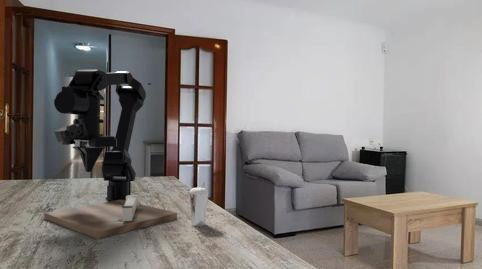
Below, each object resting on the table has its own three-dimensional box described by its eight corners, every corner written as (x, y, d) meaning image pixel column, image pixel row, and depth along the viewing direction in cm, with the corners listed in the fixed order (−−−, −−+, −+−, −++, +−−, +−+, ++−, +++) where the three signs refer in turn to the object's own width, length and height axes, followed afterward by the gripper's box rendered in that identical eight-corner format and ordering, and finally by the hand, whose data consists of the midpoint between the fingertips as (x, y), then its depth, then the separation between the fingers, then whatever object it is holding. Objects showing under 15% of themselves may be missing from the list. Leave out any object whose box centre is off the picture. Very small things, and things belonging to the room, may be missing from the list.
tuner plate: (121, 204, 105) (121, 199, 105) (177, 218, 89) (177, 212, 89) (44, 218, 87) (44, 212, 87) (97, 239, 72) (97, 231, 72)
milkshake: (212, 222, 86) (212, 182, 86) (202, 228, 81) (203, 185, 81) (195, 220, 88) (196, 181, 88) (185, 226, 83) (186, 184, 83)
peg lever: (126, 205, 94) (126, 194, 94) (140, 205, 95) (140, 194, 95) (118, 221, 79) (118, 207, 79) (135, 220, 79) (135, 206, 79)
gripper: (42, 114, 94) (42, 171, 94) (77, 113, 83) (76, 178, 83) (82, 116, 103) (81, 168, 103) (118, 115, 92) (117, 174, 92)
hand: (88, 171), depth 95 cm, fingers closed
